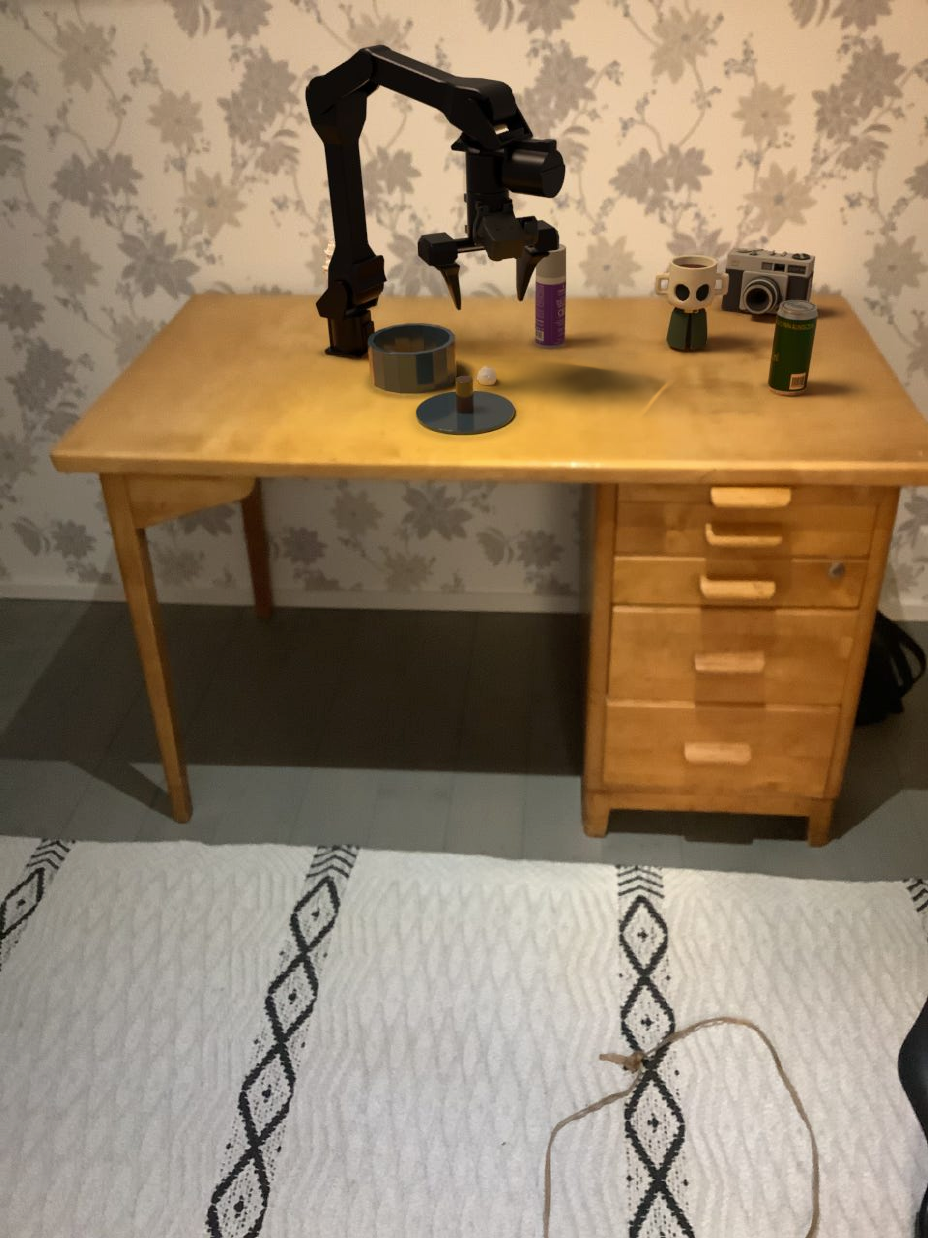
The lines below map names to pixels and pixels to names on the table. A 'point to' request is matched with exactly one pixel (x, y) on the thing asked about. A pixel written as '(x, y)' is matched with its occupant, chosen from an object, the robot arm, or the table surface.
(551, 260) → the container
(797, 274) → the camera
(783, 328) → the beer can
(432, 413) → the lid
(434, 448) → the table surface
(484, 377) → the white piggy bank
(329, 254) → the flower shoulder figurine
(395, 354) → the canister
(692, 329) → the character mug
